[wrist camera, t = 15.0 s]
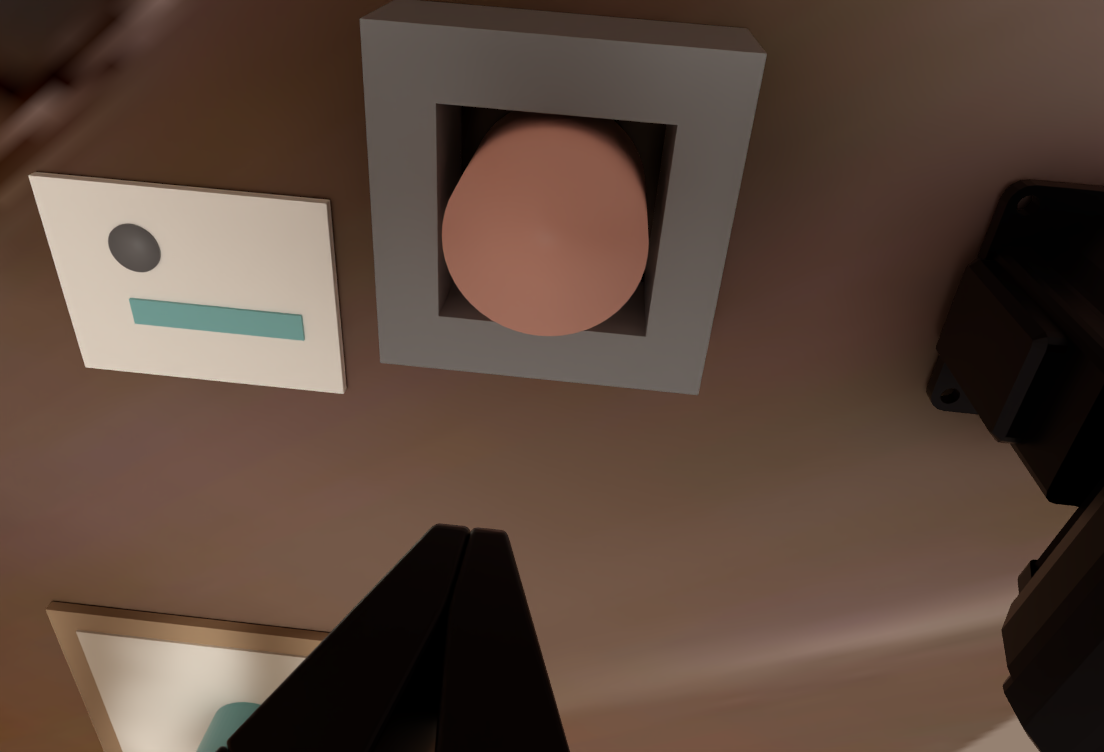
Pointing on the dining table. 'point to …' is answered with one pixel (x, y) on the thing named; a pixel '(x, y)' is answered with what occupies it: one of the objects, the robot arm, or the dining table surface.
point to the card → (197, 280)
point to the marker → (225, 725)
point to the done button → (549, 223)
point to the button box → (567, 89)
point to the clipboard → (169, 671)
